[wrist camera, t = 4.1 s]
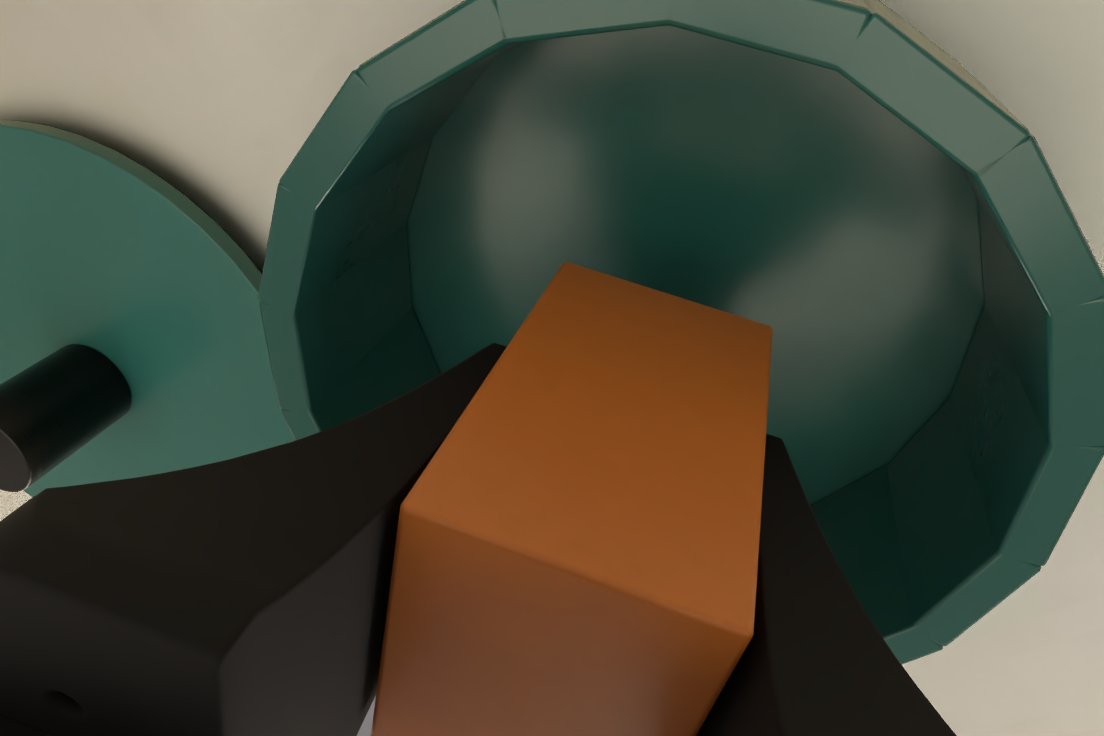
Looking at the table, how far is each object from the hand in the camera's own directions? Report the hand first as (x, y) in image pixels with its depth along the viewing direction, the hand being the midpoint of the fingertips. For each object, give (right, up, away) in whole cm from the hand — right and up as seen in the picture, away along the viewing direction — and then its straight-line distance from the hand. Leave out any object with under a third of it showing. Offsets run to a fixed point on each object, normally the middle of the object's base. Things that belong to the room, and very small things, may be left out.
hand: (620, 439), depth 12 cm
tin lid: (-14, +1, +10) cm, 17 cm away
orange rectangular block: (0, +1, +1) cm, 1 cm away
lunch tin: (+1, +3, +4) cm, 5 cm away
